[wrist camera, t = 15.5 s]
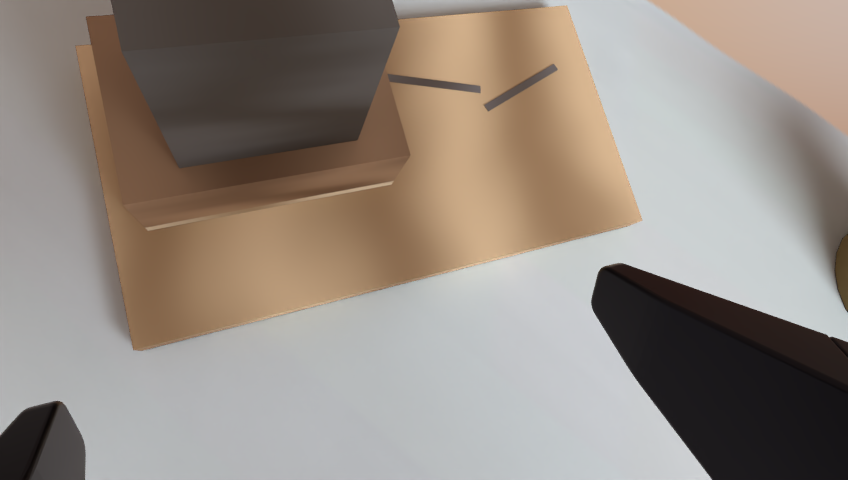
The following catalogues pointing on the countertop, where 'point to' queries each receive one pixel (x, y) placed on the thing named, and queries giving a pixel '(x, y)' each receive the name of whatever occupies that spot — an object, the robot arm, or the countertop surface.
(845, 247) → the cork
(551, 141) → the pine board
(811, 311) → the countertop surface
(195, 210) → the sanding block
